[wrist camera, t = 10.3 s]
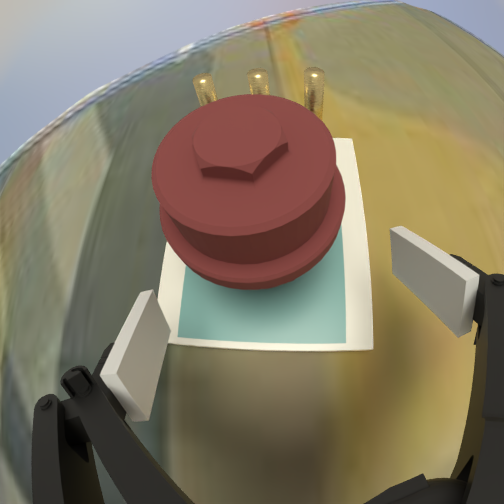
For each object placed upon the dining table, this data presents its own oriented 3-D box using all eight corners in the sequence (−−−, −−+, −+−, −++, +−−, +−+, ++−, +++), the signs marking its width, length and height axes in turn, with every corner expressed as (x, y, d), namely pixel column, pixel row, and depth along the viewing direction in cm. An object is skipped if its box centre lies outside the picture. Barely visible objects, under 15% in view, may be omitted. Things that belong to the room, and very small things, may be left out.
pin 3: (304, 158, 26) (305, 77, 18) (303, 147, 27) (303, 67, 18) (320, 158, 26) (325, 77, 18) (318, 147, 27) (323, 67, 18)
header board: (157, 342, 22) (152, 340, 21) (190, 149, 30) (187, 142, 29) (369, 350, 20) (373, 349, 19) (350, 145, 28) (351, 138, 27)
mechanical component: (183, 300, 22) (218, 188, 26) (317, 328, 20) (336, 204, 24) (88, 223, 11) (175, 70, 15) (351, 267, 9) (359, 78, 13)
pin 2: (259, 159, 27) (246, 78, 18) (260, 147, 27) (248, 68, 19) (275, 158, 27) (267, 78, 18) (275, 147, 27) (267, 67, 19)
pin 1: (216, 161, 27) (190, 84, 19) (218, 149, 28) (194, 74, 20) (231, 160, 27) (209, 82, 19) (232, 149, 28) (212, 72, 19)
